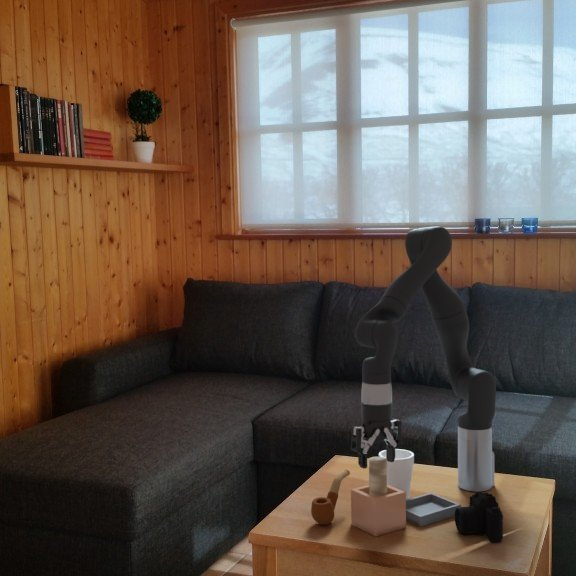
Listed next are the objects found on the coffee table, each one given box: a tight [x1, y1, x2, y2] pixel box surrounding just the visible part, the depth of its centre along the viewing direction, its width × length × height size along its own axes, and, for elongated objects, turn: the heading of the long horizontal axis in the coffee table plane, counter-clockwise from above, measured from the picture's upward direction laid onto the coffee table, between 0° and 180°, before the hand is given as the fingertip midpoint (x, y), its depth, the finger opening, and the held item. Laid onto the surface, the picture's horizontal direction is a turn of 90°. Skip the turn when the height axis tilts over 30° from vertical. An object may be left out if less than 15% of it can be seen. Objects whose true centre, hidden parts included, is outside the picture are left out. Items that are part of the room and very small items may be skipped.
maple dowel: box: [368, 456, 387, 498], centre depth 197 cm, size 4×4×16 cm
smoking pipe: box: [310, 469, 351, 526], centre depth 204 cm, size 7×18×6 cm
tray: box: [406, 492, 462, 527], centre depth 205 cm, size 14×11×2 cm
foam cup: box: [378, 448, 415, 500], centre depth 213 cm, size 10×9×13 cm
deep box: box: [350, 484, 407, 537], centre depth 197 cm, size 10×10×9 cm
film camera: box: [454, 491, 504, 542], centre depth 193 cm, size 15×10×9 cm, turn 6°
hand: (376, 464), depth 196 cm, fingers open, 8 cm apart
